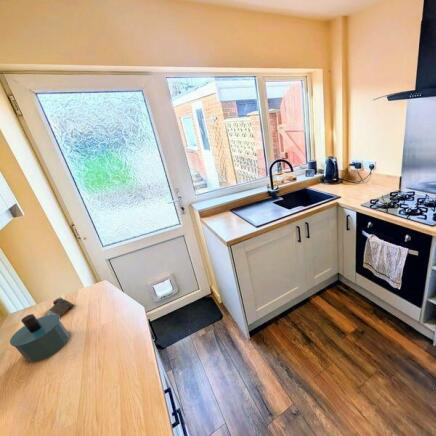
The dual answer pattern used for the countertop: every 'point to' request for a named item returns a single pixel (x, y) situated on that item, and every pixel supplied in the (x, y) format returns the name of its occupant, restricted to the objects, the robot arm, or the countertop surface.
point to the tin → (45, 345)
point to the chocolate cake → (59, 307)
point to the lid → (34, 329)
